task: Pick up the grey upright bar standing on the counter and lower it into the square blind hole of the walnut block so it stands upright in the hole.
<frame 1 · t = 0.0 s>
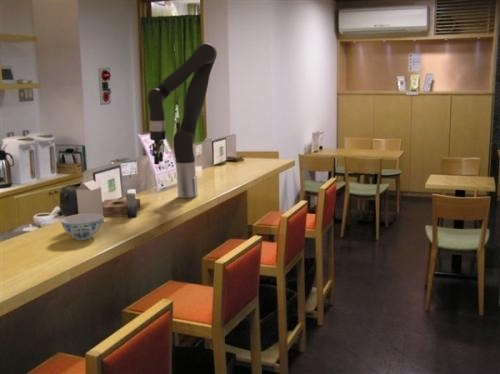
hand: (158, 162, 287), 17 cm above the worktop, tool pointing down, fingers open, 8 cm apart
milk carton: (92, 224, 242), on the worktop
grey upright bar: (132, 216, 251), on the worktop
chinaware: (83, 238, 221), on the worktop
block: (118, 211, 262), on the worktop
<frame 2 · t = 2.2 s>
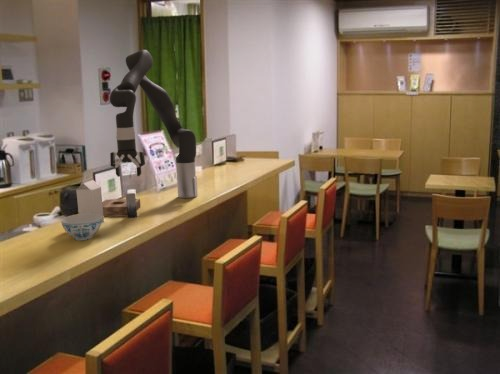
hand: (128, 176, 248), 18 cm above the worktop, tool pointing down, fingers open, 8 cm apart
nothing on the worktop moved.
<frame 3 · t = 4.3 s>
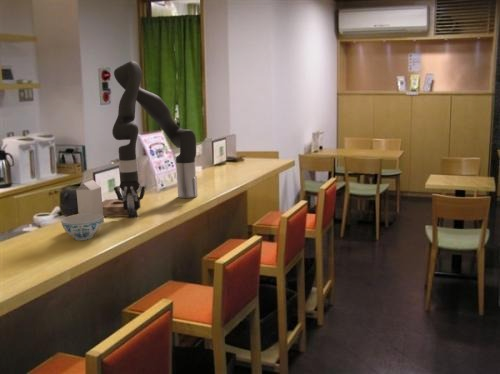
hand: (131, 209, 251), 3 cm above the worktop, tool pointing down, fingers closed on grey upright bar, 4 cm apart
grey upright bar: (132, 216, 251), on the worktop, touching gripper
everything else where it was.
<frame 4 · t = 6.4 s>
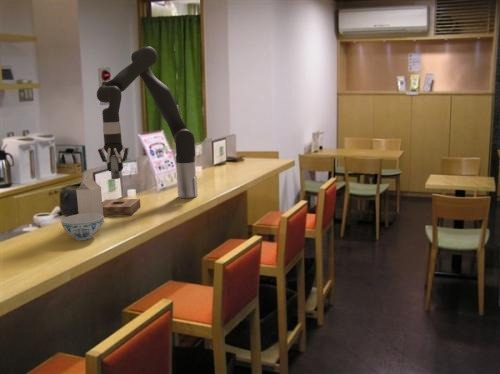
hand: (115, 170, 258), 19 cm above the worktop, tool pointing down, fingers closed on grey upright bar, 4 cm apart
grey upright bar: (116, 178, 259), point 15 cm above the worktop, touching gripper
everything else where it was.
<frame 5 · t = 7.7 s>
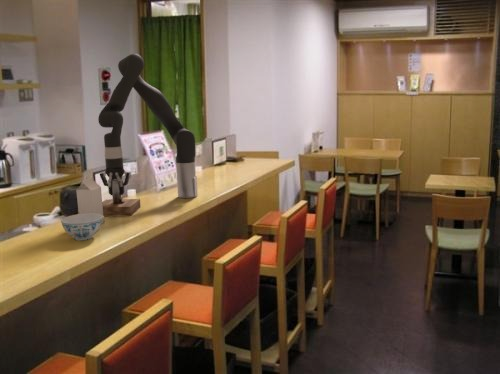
hand: (116, 194, 260), 8 cm above the worktop, tool pointing down, fingers closed on grey upright bar, 4 cm apart
grey upright bar: (117, 201, 261), point 4 cm above the worktop, touching gripper
everything else where it was.
when the fingers open (5 cm above the worktop, at t = 8.6 s): grey upright bar stays where it is, resting on block.
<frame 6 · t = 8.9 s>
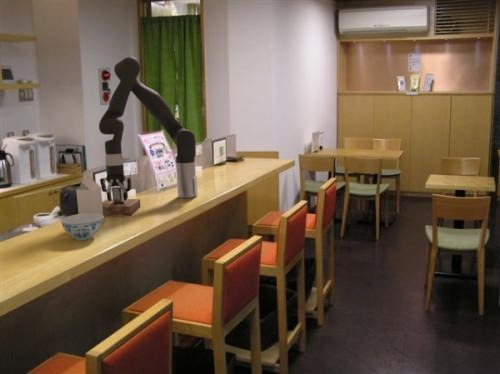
hand: (117, 200, 261), 5 cm above the worktop, tool pointing down, fingers open, 6 cm apart
grey upright bar: (118, 209, 262), point 1 cm above the worktop, touching block
everything else where it was.
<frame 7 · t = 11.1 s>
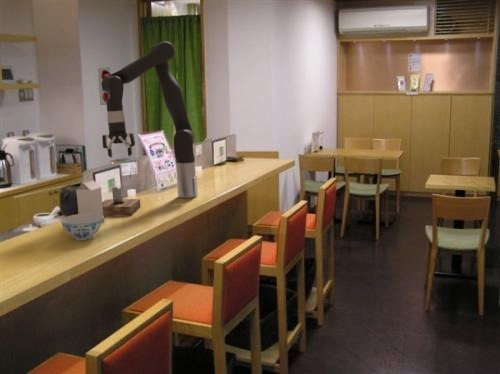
hand: (120, 156, 267), 24 cm above the worktop, tool pointing down, fingers open, 8 cm apart
nothing on the worktop moved.
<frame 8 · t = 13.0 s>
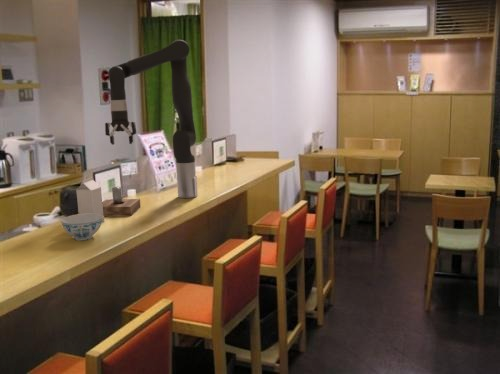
hand: (121, 144, 276), 28 cm above the worktop, tool pointing down, fingers open, 8 cm apart
nothing on the worktop moved.
at the end: grey upright bar 0.0 cm off-centre on the block, point 1.0 cm above the block's base; grey upright bar tilted 0°; the gripper is holding nothing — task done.
